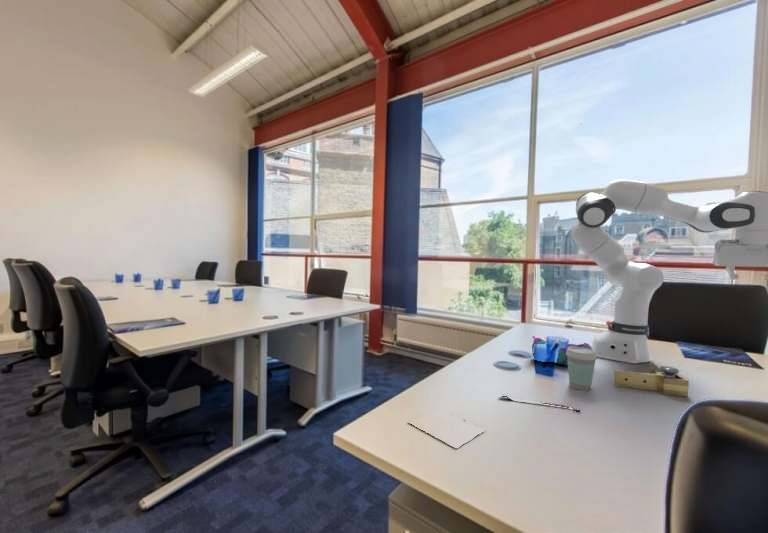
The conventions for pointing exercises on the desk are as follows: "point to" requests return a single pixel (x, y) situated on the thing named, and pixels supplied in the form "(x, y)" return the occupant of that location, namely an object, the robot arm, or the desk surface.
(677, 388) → the hinge
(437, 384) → the desk surface
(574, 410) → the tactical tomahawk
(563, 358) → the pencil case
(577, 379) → the coffee cup
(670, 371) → the hinge pin
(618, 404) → the desk surface
